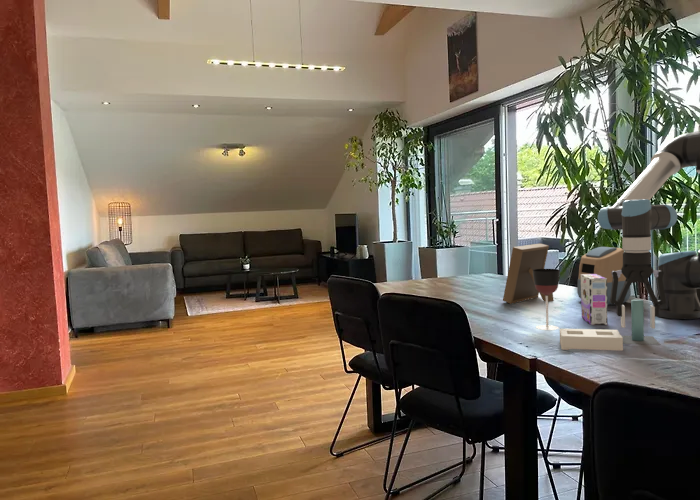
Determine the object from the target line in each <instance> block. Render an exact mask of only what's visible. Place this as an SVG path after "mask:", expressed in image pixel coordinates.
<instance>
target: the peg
mask: <svg viewBox="0 0 700 500" xmlns="http://www.w3.org/2000/svg"><path fill="white" fill-rule="evenodd" d="M630 304H631V306H630V307H631V315H630V317H631V336H632V340H634V341H644V335H645V325H644V323H645V322H644V320H645V319H644V318H645V317H644V300H643V299H631V300H630Z"/></svg>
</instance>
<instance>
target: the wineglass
mask: <svg viewBox="0 0 700 500" xmlns="http://www.w3.org/2000/svg"><path fill="white" fill-rule="evenodd" d="M533 278H534V284H535V287H536V289H537V290H538V291H539V292H540V293H542V294H544V295H545V296H546V301H545V324H543V325H536V327H535V328H536V329H538V330H542V331H555V330H560V327H559V326H557V325H552V324H551V325H549V301H548V295H550V294H552V293H555V292H556V291H557V290H558V288H559V284H560V269H556V268H544V269H535V270H533ZM540 293H539V294H540Z"/></svg>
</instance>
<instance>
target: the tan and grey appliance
mask: <svg viewBox="0 0 700 500" xmlns="http://www.w3.org/2000/svg"><path fill="white" fill-rule="evenodd" d="M623 252H625V251H624V250H623V247H622V248H621V247H612V246H611V247H609V246H599V247H594V248H593V249H591V250H589V251H587V253H585V254H584V255H583V254H582V256H581V258H580V261H579V265H578V266H579V269H578V279H577V292H576V293H577V296H578V298H579V299H580V300H581V276H580V274H597V275H600V276H602V277H604V278H607V306H609V304H612V303H611V302H610V296H611V288H612V281H613V277H612V274H611V272H612V271H618V270H621V269H622V266H623ZM625 280H626V277H625V276H624V275H623V274H621V275H620V277H619V278H618V287H617V294H616V300H618V297H619V295H620V293H621V290H622V288H623V286H624V283H625ZM631 295H632V293H631V286H630V287H629V290H628V292H627V294H626V297H625V299H624V301H623V304H625V303H626V302H628V300H630V297H631ZM612 305H613V304H612Z"/></svg>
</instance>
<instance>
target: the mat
mask: <svg viewBox="0 0 700 500" xmlns="http://www.w3.org/2000/svg"><path fill="white" fill-rule="evenodd" d="M621 336H622V337H623V345H624V344H625V345H626V344H627V345H656V346H658V345H660V346H661V343H660V342H659V341H658V340H657V339H656V338H655V337H654V336H652V335H651V336H649V335H647V336H646V335H645V336H644V341H634V340H632V335H621Z"/></svg>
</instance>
